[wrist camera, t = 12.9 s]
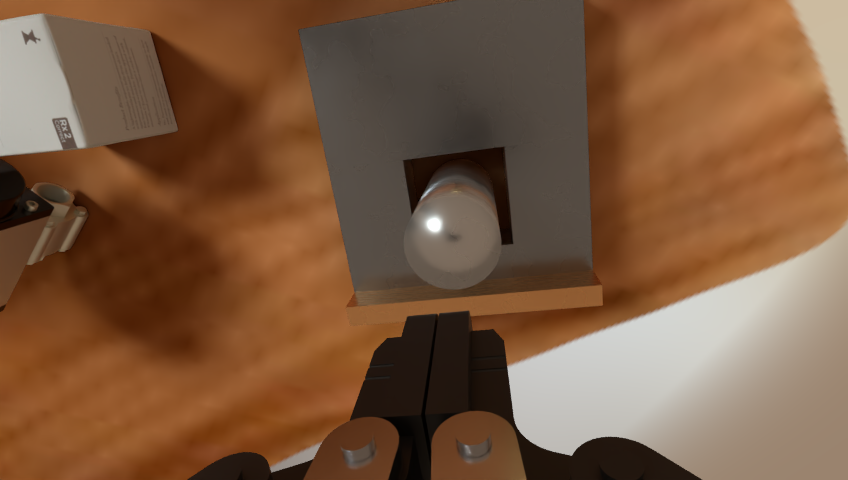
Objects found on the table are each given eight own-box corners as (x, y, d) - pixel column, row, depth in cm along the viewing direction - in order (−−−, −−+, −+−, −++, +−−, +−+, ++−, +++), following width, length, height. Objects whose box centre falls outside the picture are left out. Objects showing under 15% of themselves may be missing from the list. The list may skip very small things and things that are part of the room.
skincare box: (63, 43, 27) (-76, 27, 20) (153, 29, 27) (40, 9, 20) (96, 143, 29) (-21, 160, 22) (181, 133, 28) (87, 148, 22)
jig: (317, 36, 26) (282, 24, 21) (569, -10, 24) (593, -34, 19) (369, 289, 31) (350, 326, 26) (581, 269, 29) (602, 305, 24)
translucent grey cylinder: (424, 163, 27) (395, 203, 18) (489, 154, 27) (496, 191, 17) (433, 225, 29) (411, 293, 19) (496, 218, 28) (506, 284, 19)
